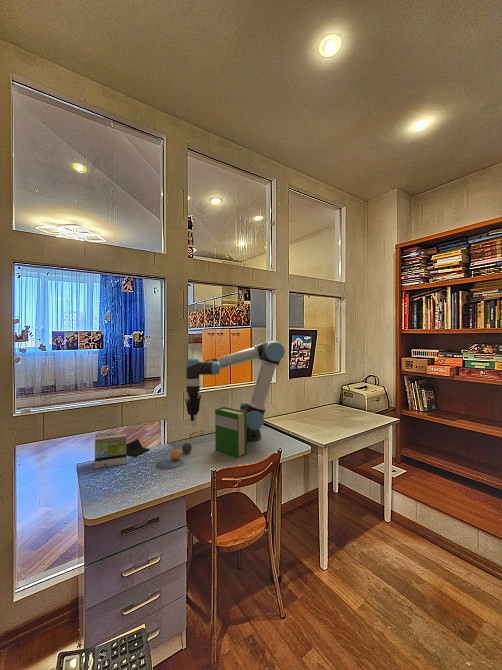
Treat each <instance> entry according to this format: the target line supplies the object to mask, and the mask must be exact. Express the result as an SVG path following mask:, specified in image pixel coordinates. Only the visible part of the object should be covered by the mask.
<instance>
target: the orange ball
mask: <svg viewBox="0 0 502 670" xmlns="http://www.w3.org/2000/svg"><path fill="white" fill-rule="evenodd" d="M170 458H172V459H173V460H178V459H179V458H180V459H181V458H182V452H181V451H180V449H173V450H172V451H171V452H170Z"/></svg>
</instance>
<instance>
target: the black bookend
mask: <svg viewBox="0 0 502 670" xmlns="http://www.w3.org/2000/svg"><path fill="white" fill-rule="evenodd" d="M149 451H151V450H150V448H146V447H143V445H142V444H141V441H140V440H139V439H135V440H133V441H130V442H129V443H126V455H127V456H128V455H129V456H128V457H133V458H137V457H139V456H141V455H144V454H146V453H148V452H149Z"/></svg>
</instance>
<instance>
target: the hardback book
mask: <svg viewBox="0 0 502 670" xmlns="http://www.w3.org/2000/svg"><path fill="white" fill-rule="evenodd" d="M214 412H215V413H214V416H215V417H214V421H215V422H214V426H215V432H214V433H215V435H214V437H215V441H214V442H215V451H216V452H219V453H221V454H224V455H226V456H229V457H232V458H235V459H237V460H238V459H239V458H240V457H241V456H243V455H244V456H246V455H248V446H247V445H248V442H247V417H246V411H242V410H240V409H235V408H232V407H227V406H222V407H218V408H215V409H214Z"/></svg>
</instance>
